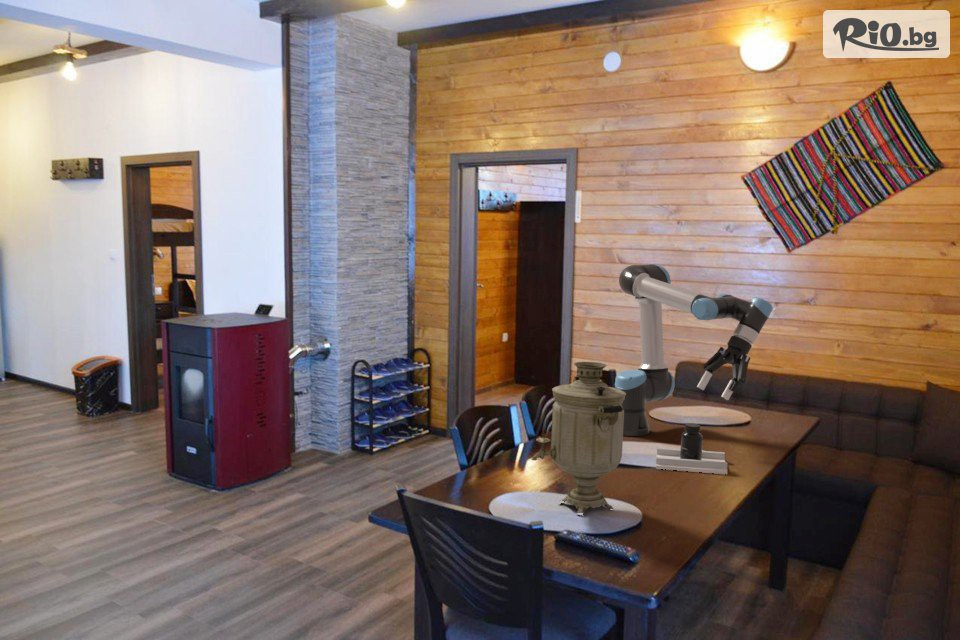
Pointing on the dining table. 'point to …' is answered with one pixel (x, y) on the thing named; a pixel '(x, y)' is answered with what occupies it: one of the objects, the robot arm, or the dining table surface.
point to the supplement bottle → (691, 442)
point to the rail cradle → (691, 461)
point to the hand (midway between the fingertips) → (712, 393)
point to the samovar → (586, 433)
